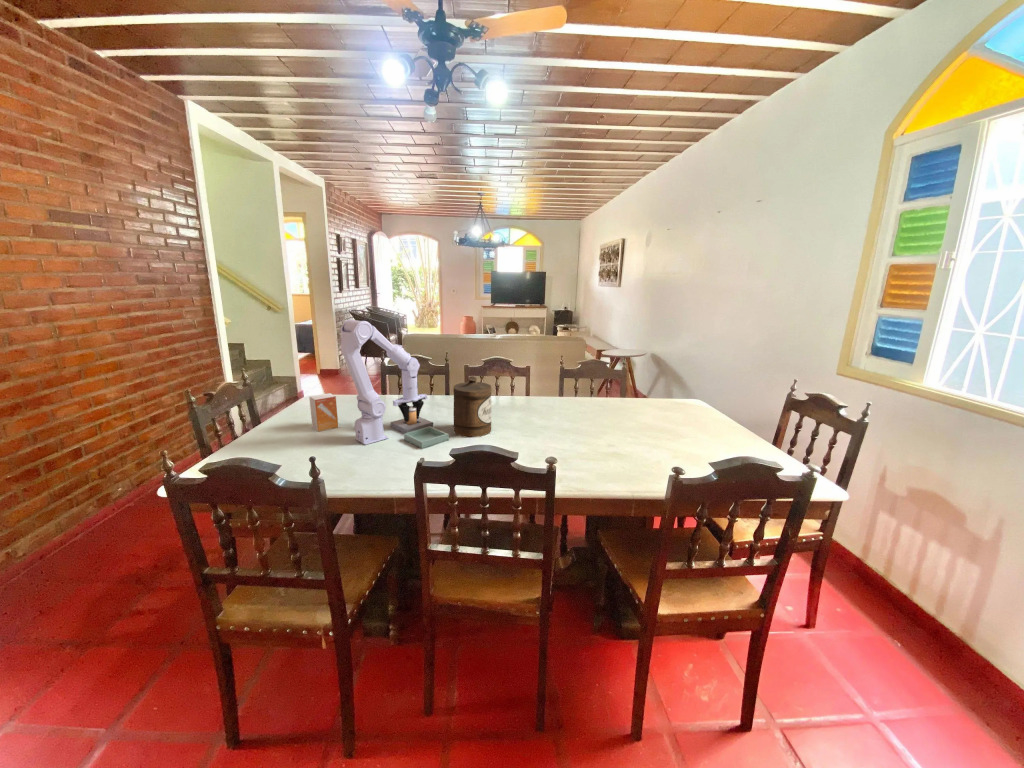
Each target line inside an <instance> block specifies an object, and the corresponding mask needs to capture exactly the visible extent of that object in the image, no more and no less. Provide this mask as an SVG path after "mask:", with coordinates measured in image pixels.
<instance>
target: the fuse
mask: <svg viewBox="0 0 1024 768" xmlns="http://www.w3.org/2000/svg"><path fill="white" fill-rule="evenodd" d="M409 406H410V405H409ZM416 411H417V410H416V407H415V406H413V405H411V406H410V408H409V421H408V422H407V425H413V424H417V416H416Z"/></svg>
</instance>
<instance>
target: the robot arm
mask: <svg viewBox="0 0 1024 768" xmlns="http://www.w3.org/2000/svg"><path fill="white" fill-rule="evenodd" d="M339 330H340V334H341V338H340V339H341V340H340V351H341V354H342V356H343V358H344V361H345V363H346V366H347V368H348V371H349V374H350V376H351V378H352V381H353V383H354V385H355V388H356V391H357V393H358V394H357V395H356V400H357V408H358V410H359V411H360V412H361V417H359V418H356V419H355V422H354V430H355V438H354V439H355V440H356V441H358V442H359V443H360V444H363V445H365V446H366V445H369V444H373V443H377V442H379V441H383V440H387V439H389V436H388V435H385V431H384V420H383V419H384V414H385V413H386V409H387V406H386V403H385V402H384V401H383V400H382V399H381V396H380V395H379V393H377V392H376V390H375V389H374V387H373V385H372V381H371V378H370V376H369V373H368V371H367V369H366V366H365V363H364V359H363V357H362V355H361V353H360V350H361V348H362V346H363V345H364V344H365V343H366V342H367V341H368V340H370V341H372V342H373V343H375V344H376V345H377V346H378V347H380V348H381V349H383V350H384V351H386V356H387V357H388V358H389V359H390V360H391V361H393V362H394V364H396V365H397V367H398V369H400V370H401V382H402V397H400V398H397V399H394V400H392V406H394V407H398V408H399V410H400V412H401V414H402V418H403V419H404V421H407V422H408V421H409V408H410V405H408V404H410V403H411V404H412V406H415V407H416V410H417V411H416V416H417V419H419V417H420V413H421V410H422V407H423V406H424V404H425V401H423V400H426V401H427V399H428V394H426V393H421V394H420V393H419V391H418V372H419V369H420V366H421V363H419V360H418V359H417V358H416V357H414V356H411V353H409V352H407V351H406V350H405V349H403V345H401V344H397V343H394V344H392V343H391V342H390V340H389V339H388V338H386V337H385V336H384V335H383V333H381V332H380V331H379V330H378V329H377V328H376V327H375V326H374V325H372V324H371V323H370V322H369V321H366V320H357V319H354V318H353V319H352V318H349V319H346V320H345V321H344V322H343V324H342V326H341V328H340V329H339ZM418 393H419V394H418Z"/></svg>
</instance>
